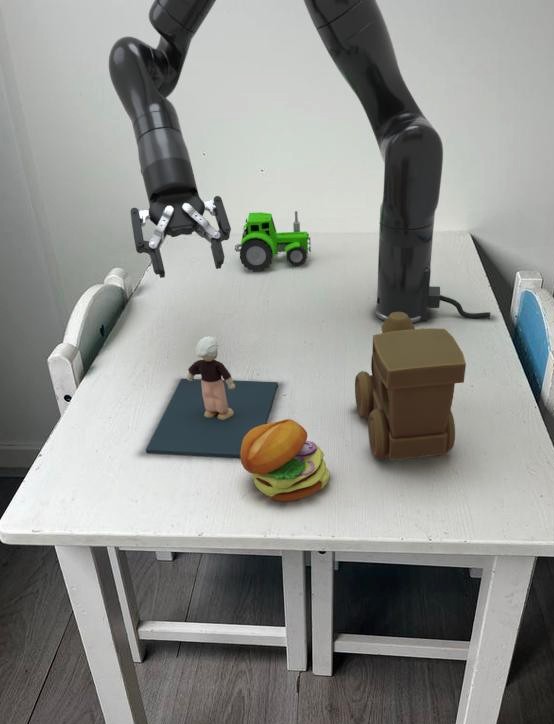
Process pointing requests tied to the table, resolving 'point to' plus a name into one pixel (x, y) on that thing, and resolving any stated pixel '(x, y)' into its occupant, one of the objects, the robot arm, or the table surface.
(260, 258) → the toy tractor
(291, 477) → the cheeseburger
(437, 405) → the wooden toy train
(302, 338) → the table surface
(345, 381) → the table surface
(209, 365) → the grandmother figurine
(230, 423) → the mat
